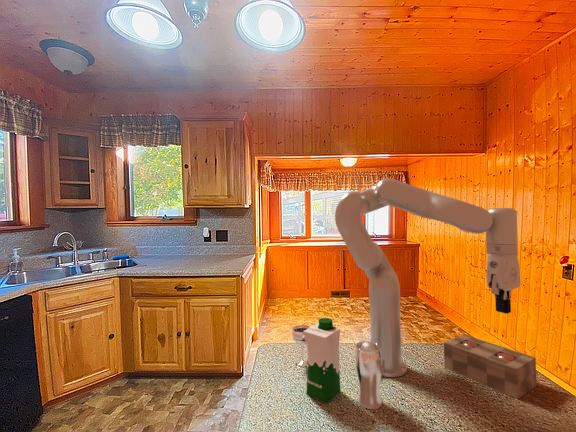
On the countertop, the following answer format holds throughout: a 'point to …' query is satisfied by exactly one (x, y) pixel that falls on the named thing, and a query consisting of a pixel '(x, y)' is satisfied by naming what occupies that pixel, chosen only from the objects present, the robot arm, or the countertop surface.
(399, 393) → the countertop surface
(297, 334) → the wineglass
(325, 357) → the milk carton
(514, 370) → the tan checkered block
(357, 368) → the beer glass
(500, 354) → the peg right
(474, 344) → the peg left
